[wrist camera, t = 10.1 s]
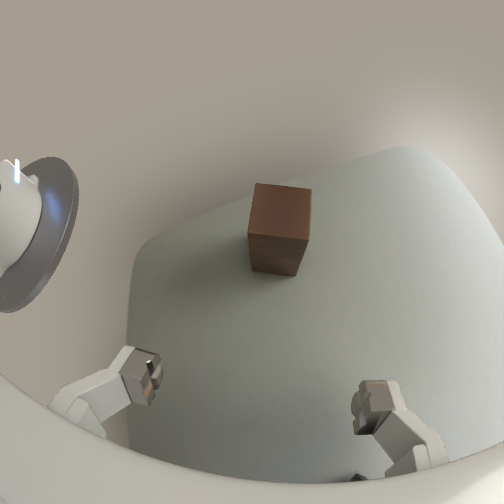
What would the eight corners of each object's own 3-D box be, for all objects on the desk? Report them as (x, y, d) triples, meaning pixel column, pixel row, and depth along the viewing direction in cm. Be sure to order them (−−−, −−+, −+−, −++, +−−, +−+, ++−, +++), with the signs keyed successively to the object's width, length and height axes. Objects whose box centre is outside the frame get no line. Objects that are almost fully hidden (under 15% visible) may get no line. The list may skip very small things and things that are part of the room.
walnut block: (251, 271, 25) (247, 232, 18) (257, 231, 26) (255, 182, 19) (295, 276, 25) (309, 240, 17) (298, 236, 26) (311, 189, 19)
